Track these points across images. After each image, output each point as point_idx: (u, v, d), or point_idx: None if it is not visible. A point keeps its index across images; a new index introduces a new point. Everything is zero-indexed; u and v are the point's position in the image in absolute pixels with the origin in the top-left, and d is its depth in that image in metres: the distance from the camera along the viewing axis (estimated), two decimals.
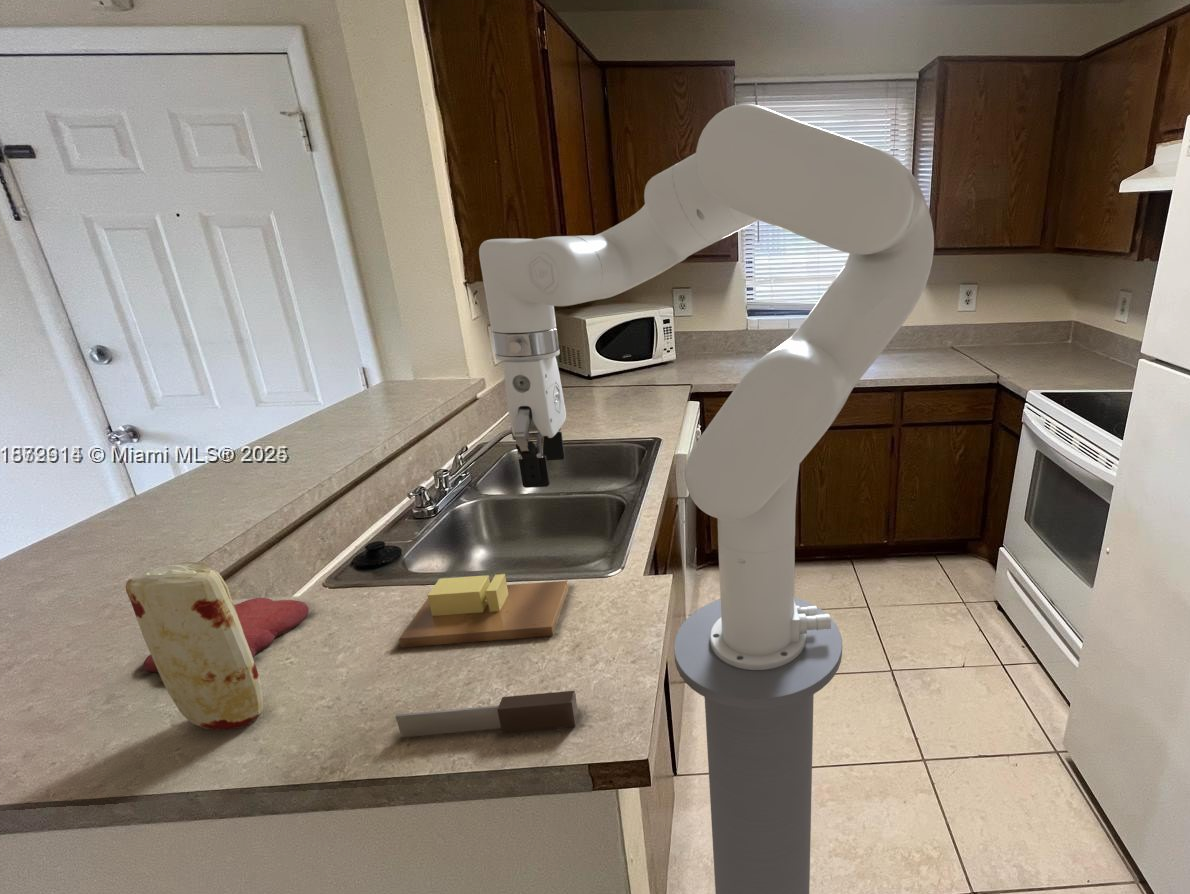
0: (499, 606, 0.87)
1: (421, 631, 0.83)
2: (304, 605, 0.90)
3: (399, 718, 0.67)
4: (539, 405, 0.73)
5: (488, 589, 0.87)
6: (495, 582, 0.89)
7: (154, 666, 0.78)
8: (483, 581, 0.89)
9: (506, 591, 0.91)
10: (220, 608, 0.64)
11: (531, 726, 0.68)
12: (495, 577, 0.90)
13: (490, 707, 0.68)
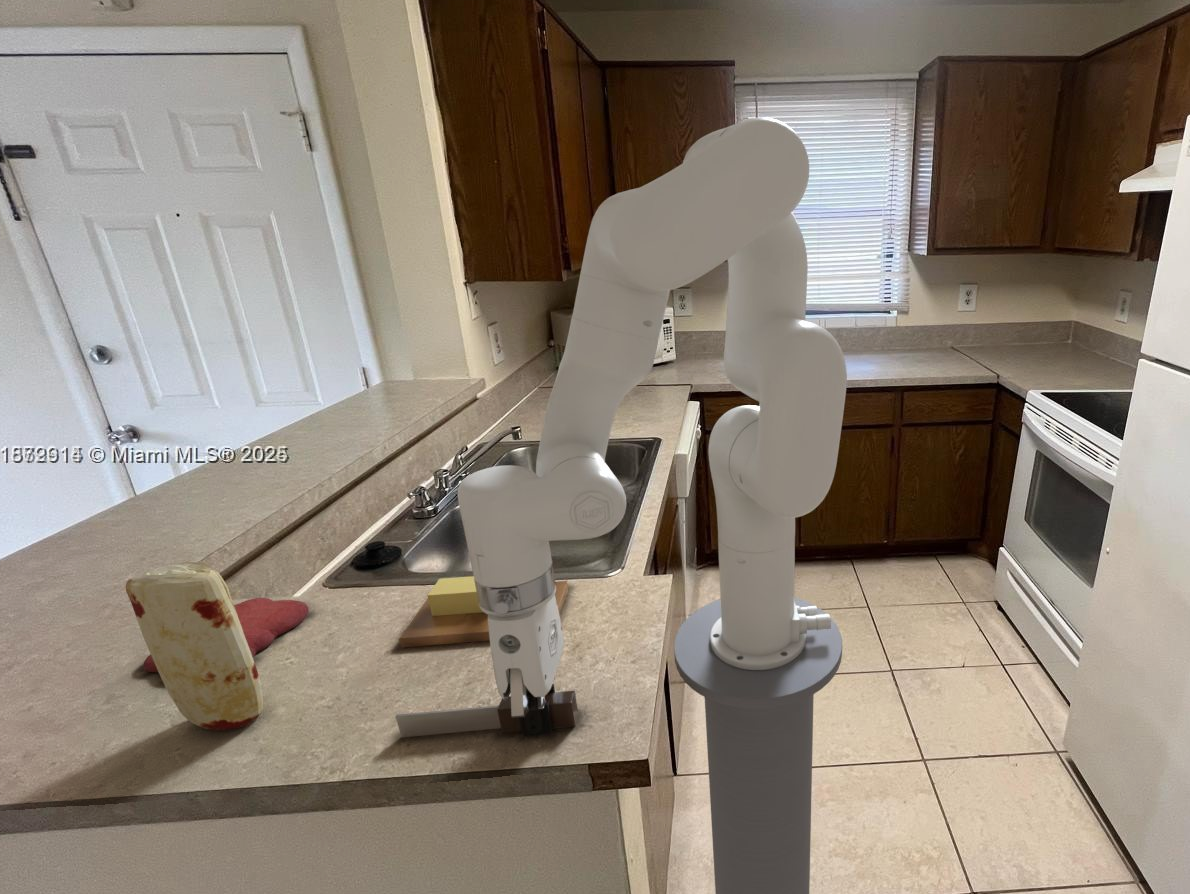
0: None
1: (421, 631, 0.83)
2: (304, 605, 0.90)
3: (399, 718, 0.67)
4: (531, 666, 0.61)
5: None
6: None
7: (154, 666, 0.78)
8: None
9: None
10: (220, 608, 0.64)
11: None
12: None
13: (490, 707, 0.68)
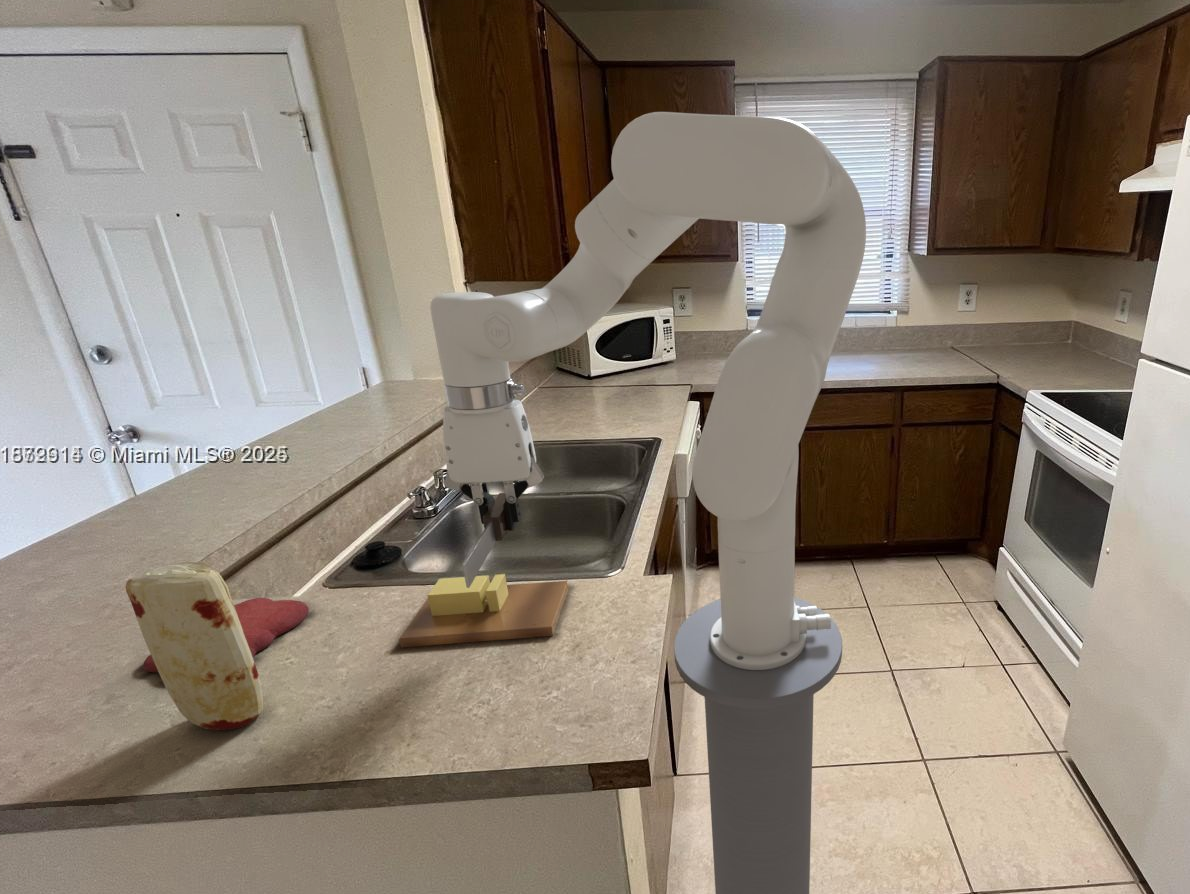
0: (499, 606, 0.87)
1: (421, 631, 0.83)
2: (304, 605, 0.90)
3: (466, 565, 0.68)
4: (531, 438, 0.81)
5: (488, 589, 0.87)
6: (495, 582, 0.89)
7: (154, 666, 0.78)
8: (483, 581, 0.89)
9: (506, 591, 0.91)
10: (220, 608, 0.64)
11: None
12: (495, 577, 0.90)
13: (489, 524, 0.77)
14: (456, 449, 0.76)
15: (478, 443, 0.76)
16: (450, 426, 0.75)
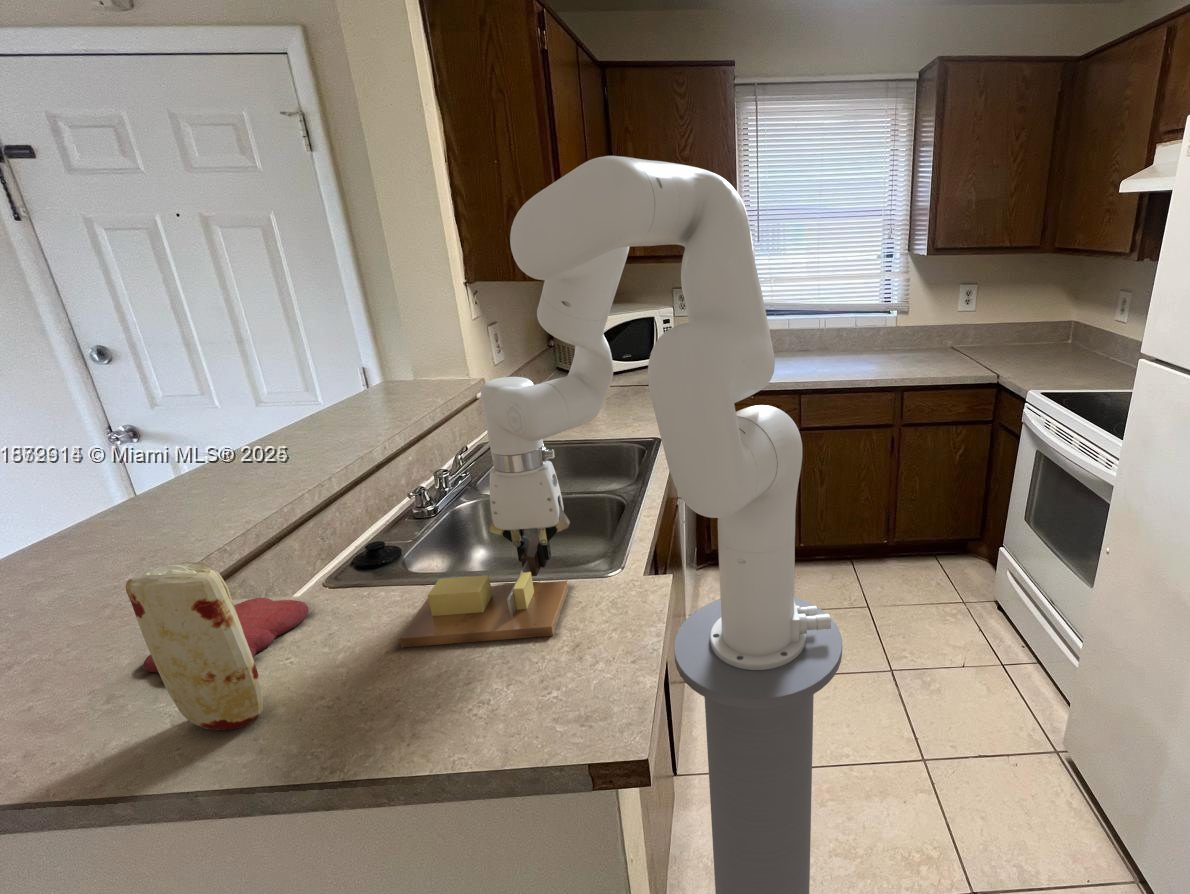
0: (526, 604, 0.88)
1: (421, 631, 0.83)
2: (304, 605, 0.90)
3: (510, 600, 0.85)
4: None
5: (515, 587, 0.87)
6: (522, 580, 0.89)
7: (154, 666, 0.78)
8: (483, 581, 0.89)
9: (532, 589, 0.92)
10: (220, 608, 0.64)
11: None
12: (521, 575, 0.90)
13: (526, 563, 0.94)
14: (500, 503, 0.93)
15: (518, 498, 0.93)
16: (495, 485, 0.92)
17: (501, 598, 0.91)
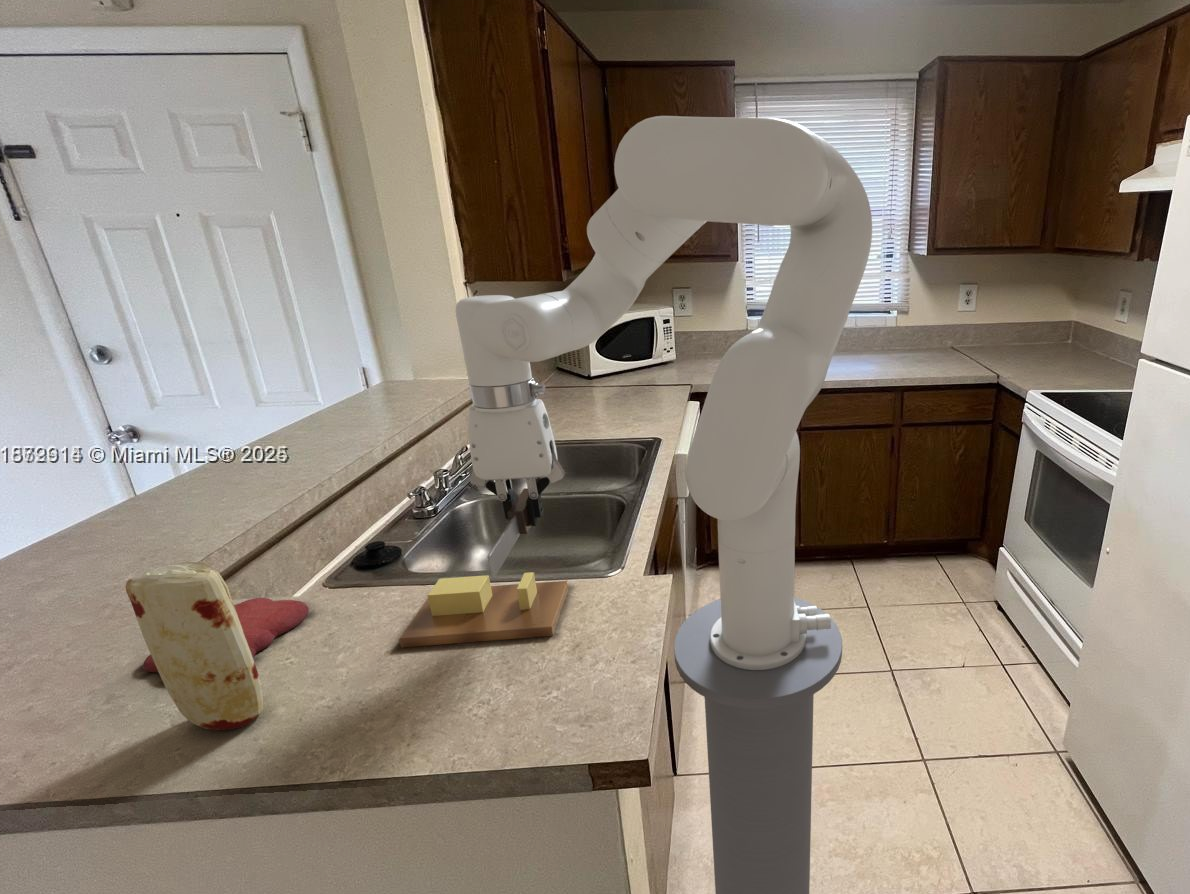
0: (529, 604, 0.88)
1: (421, 631, 0.83)
2: (304, 605, 0.90)
3: (491, 557, 0.71)
4: (553, 436, 0.83)
5: (519, 587, 0.87)
6: (525, 580, 0.89)
7: (154, 666, 0.78)
8: (483, 581, 0.89)
9: (535, 589, 0.92)
10: (220, 608, 0.64)
11: None
12: (524, 575, 0.90)
13: (513, 518, 0.80)
14: (481, 447, 0.79)
15: (502, 441, 0.78)
16: (475, 424, 0.78)
17: (501, 598, 0.91)
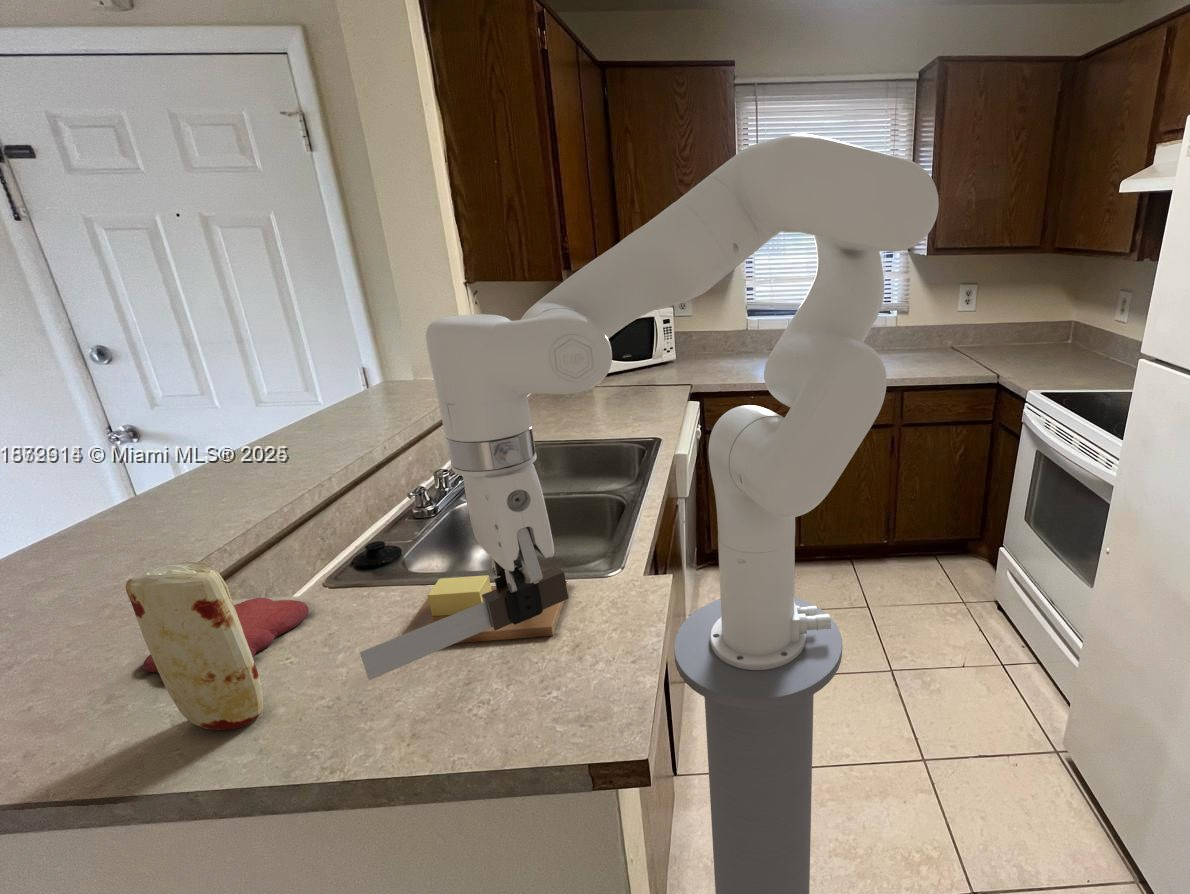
0: None
1: None
2: (304, 605, 0.90)
3: (366, 655, 0.55)
4: (542, 521, 0.58)
5: None
6: None
7: (154, 666, 0.78)
8: (483, 581, 0.89)
9: None
10: (220, 608, 0.64)
11: None
12: None
13: (475, 606, 0.61)
14: (468, 505, 0.61)
15: (474, 508, 0.59)
16: (463, 476, 0.60)
17: None
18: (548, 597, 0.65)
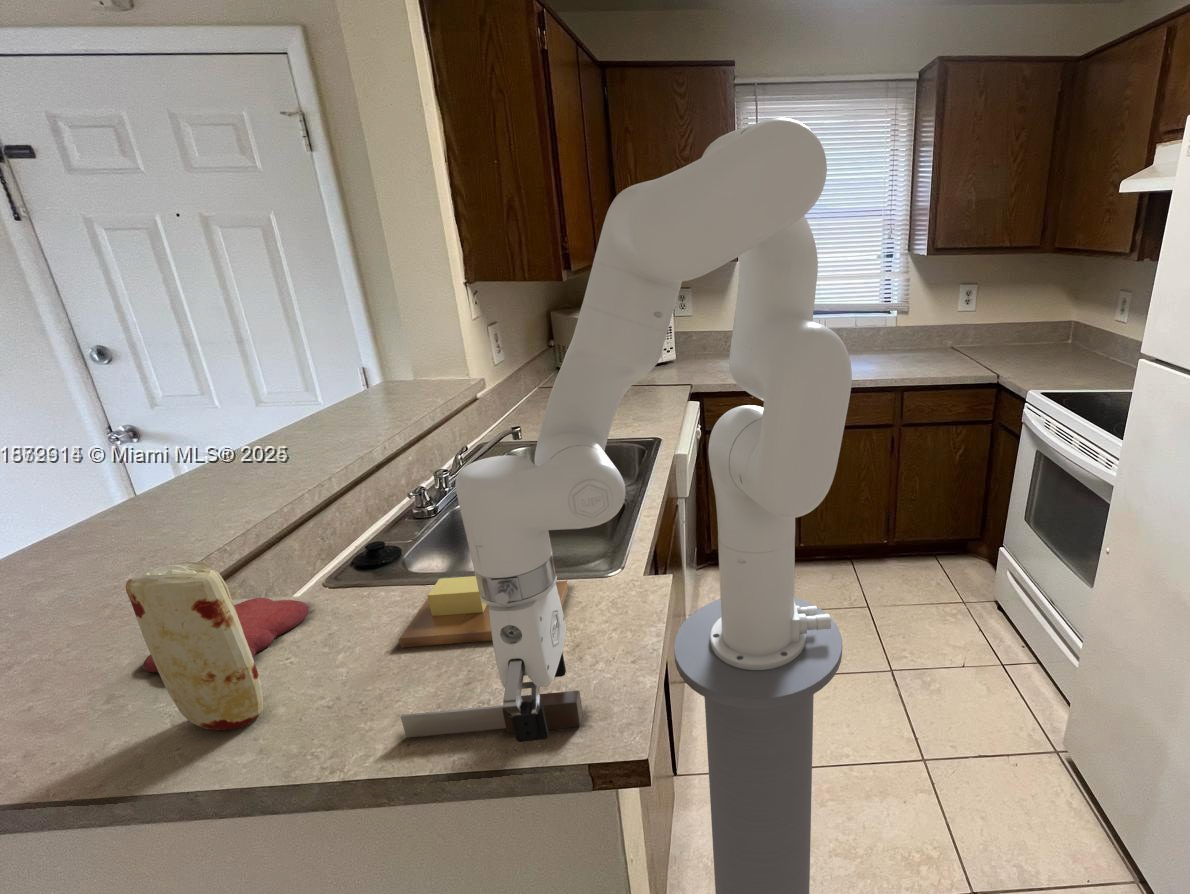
0: None
1: (421, 631, 0.83)
2: (304, 605, 0.90)
3: (404, 719, 0.67)
4: (533, 656, 0.61)
5: None
6: None
7: (154, 666, 0.78)
8: None
9: None
10: (220, 608, 0.64)
11: None
12: None
13: (495, 707, 0.68)
14: None
15: None
16: None
17: None
18: (559, 720, 0.68)
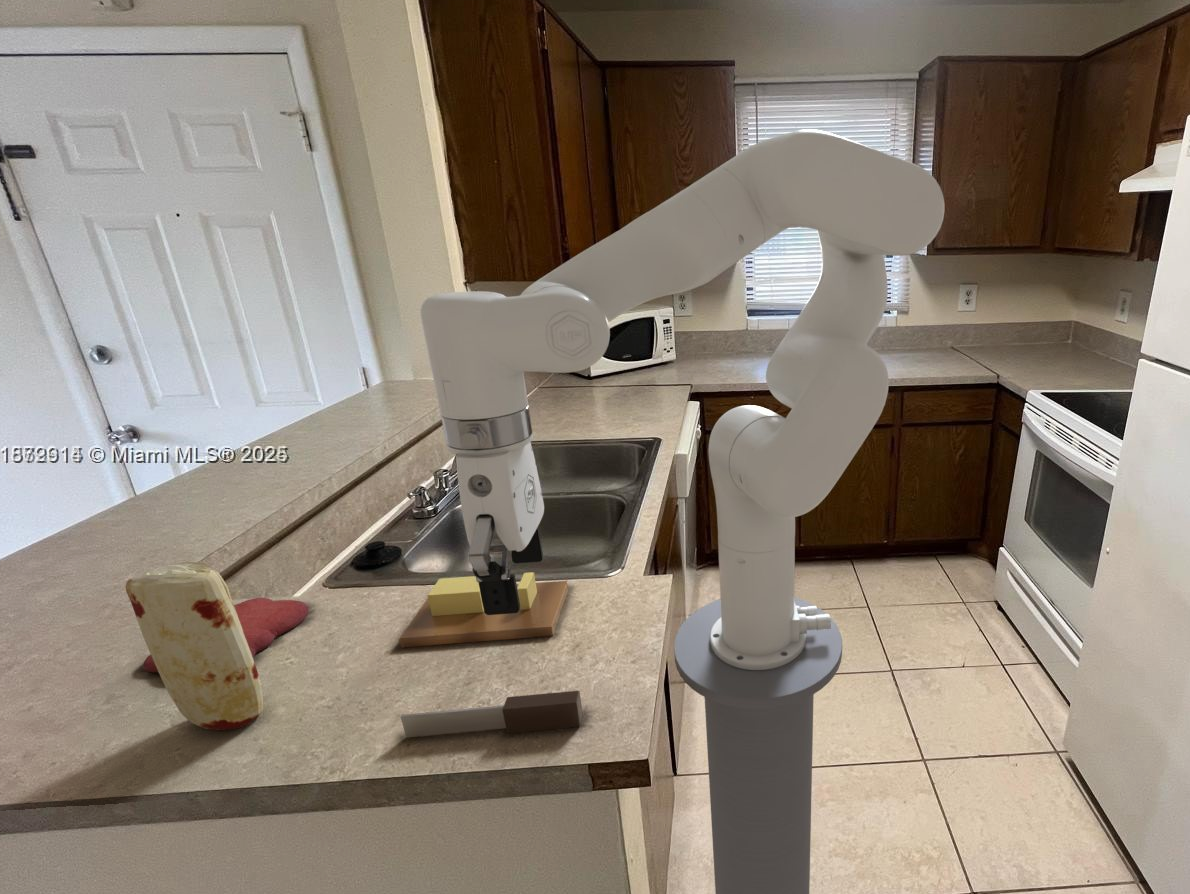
0: (529, 604, 0.88)
1: (421, 631, 0.83)
2: (304, 605, 0.90)
3: (404, 719, 0.67)
4: (504, 512, 0.55)
5: (519, 587, 0.87)
6: (525, 580, 0.89)
7: (154, 666, 0.78)
8: None
9: (535, 589, 0.92)
10: (220, 608, 0.64)
11: (535, 726, 0.68)
12: (524, 575, 0.90)
13: (495, 707, 0.68)
14: None
15: None
16: None
17: None
18: (559, 720, 0.68)
